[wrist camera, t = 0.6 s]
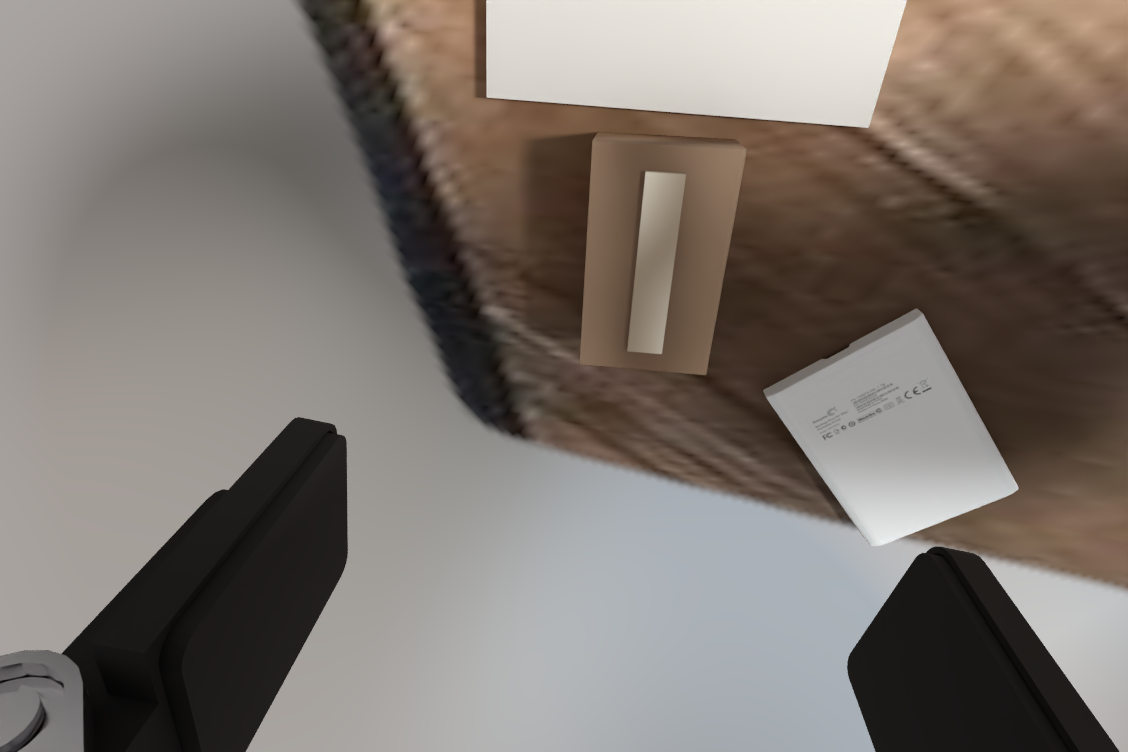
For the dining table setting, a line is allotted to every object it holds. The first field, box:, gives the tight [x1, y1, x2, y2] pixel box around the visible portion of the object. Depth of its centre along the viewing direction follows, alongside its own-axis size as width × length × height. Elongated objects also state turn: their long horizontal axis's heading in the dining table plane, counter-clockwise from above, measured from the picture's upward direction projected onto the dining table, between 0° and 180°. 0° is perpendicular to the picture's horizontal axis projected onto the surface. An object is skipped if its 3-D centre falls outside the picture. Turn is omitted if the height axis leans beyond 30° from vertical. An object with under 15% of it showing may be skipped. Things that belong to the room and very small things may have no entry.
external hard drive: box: [763, 308, 1018, 547], centre depth 31 cm, size 2×8×12 cm
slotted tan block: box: [580, 132, 747, 375], centre depth 26 cm, size 6×10×4 cm, turn 178°
